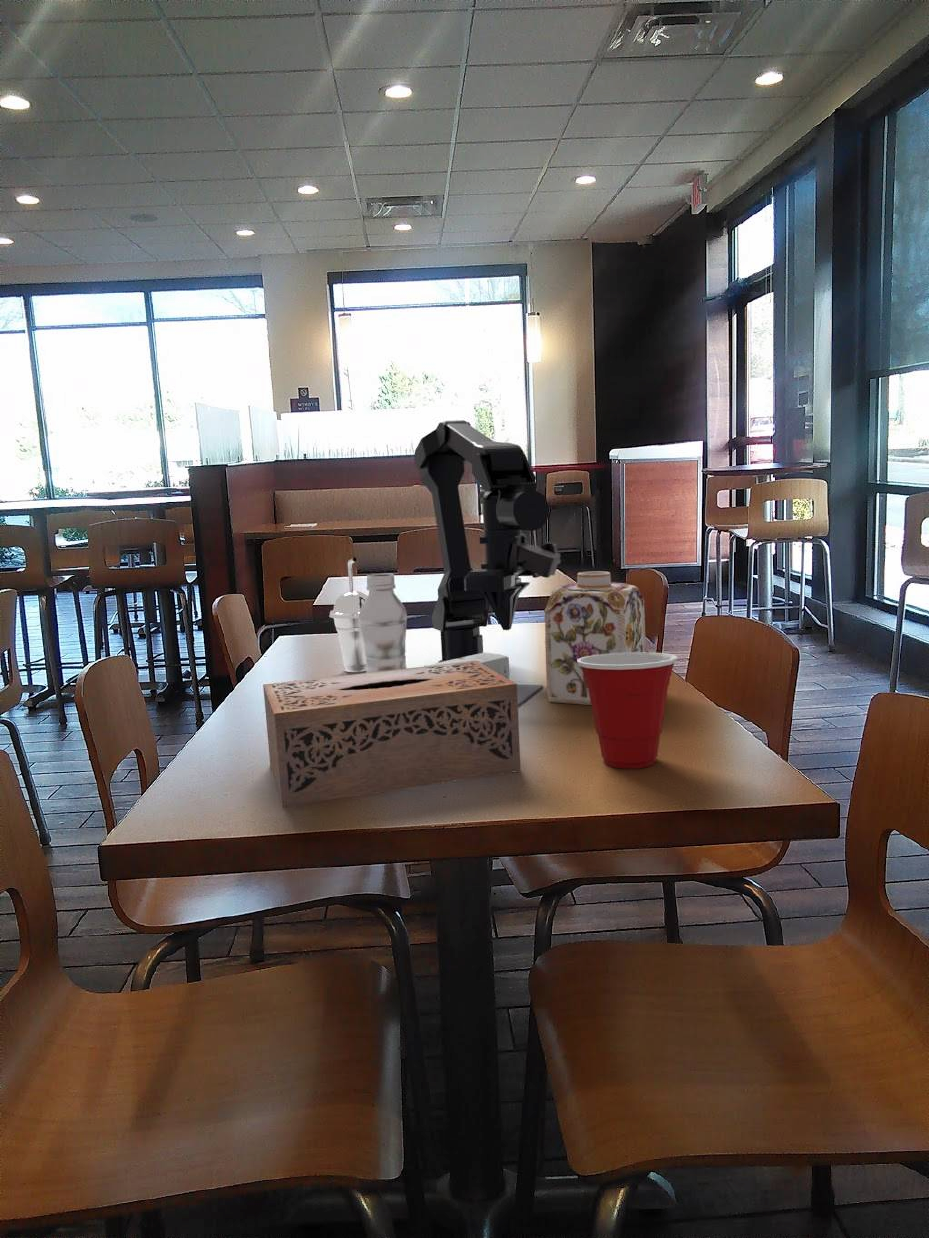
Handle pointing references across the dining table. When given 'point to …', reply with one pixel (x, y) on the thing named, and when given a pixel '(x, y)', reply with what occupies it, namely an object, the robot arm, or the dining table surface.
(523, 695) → the mat
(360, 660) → the cup with straw
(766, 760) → the dining table surface
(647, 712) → the plastic cup
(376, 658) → the plastic bottle
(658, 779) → the dining table surface
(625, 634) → the decorative jar
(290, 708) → the tissue box cover
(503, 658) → the skincare box
